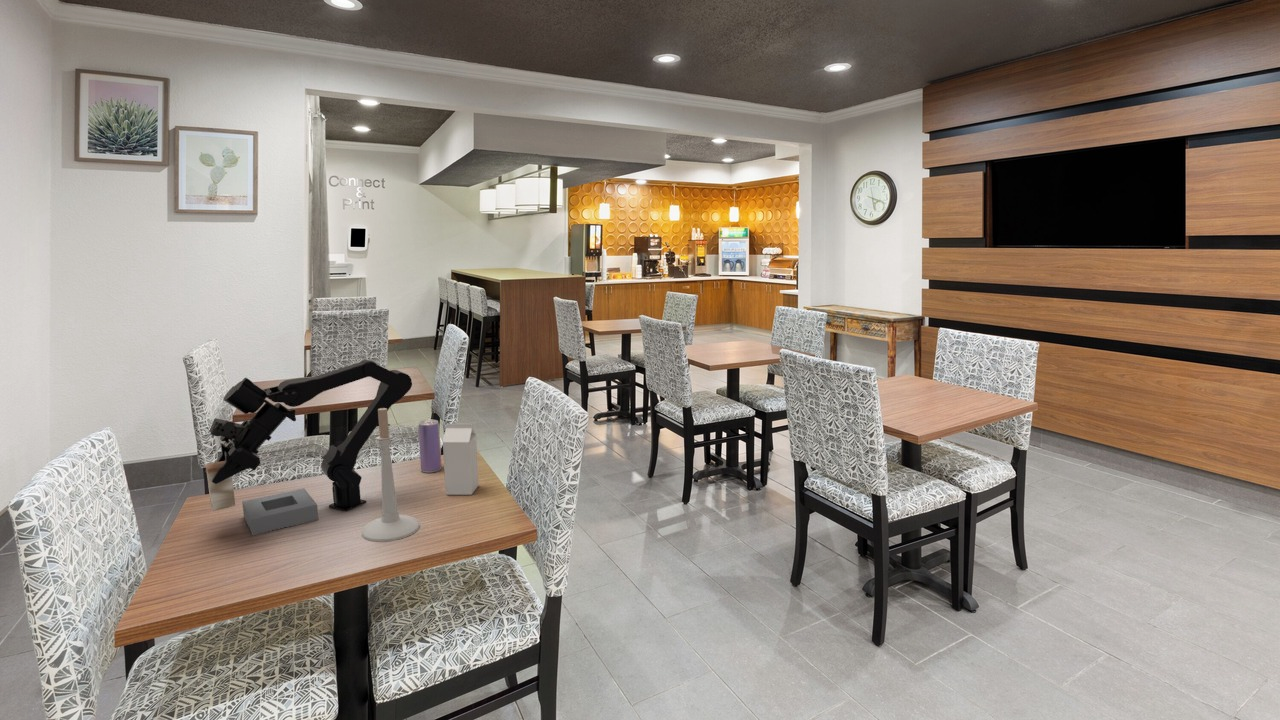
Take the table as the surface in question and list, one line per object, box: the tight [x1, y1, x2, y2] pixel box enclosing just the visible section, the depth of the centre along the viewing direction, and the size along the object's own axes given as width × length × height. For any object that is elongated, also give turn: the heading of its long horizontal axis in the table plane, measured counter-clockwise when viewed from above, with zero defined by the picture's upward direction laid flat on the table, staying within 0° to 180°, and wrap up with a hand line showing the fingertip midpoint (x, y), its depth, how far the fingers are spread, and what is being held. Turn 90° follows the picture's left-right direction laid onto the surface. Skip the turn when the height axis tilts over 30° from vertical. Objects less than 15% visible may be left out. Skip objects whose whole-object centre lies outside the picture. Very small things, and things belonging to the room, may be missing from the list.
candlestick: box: [361, 408, 421, 542], centre depth 149 cm, size 13×13×30 cm
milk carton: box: [442, 423, 479, 496], centre depth 175 cm, size 7×7×19 cm
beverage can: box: [417, 419, 442, 474], centre depth 192 cm, size 6×6×15 cm
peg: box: [205, 461, 236, 512], centre depth 148 cm, size 4×4×10 cm
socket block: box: [242, 488, 319, 536], centre depth 158 cm, size 14×14×4 cm
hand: (212, 479), depth 147 cm, fingers closed on peg, 4 cm apart
